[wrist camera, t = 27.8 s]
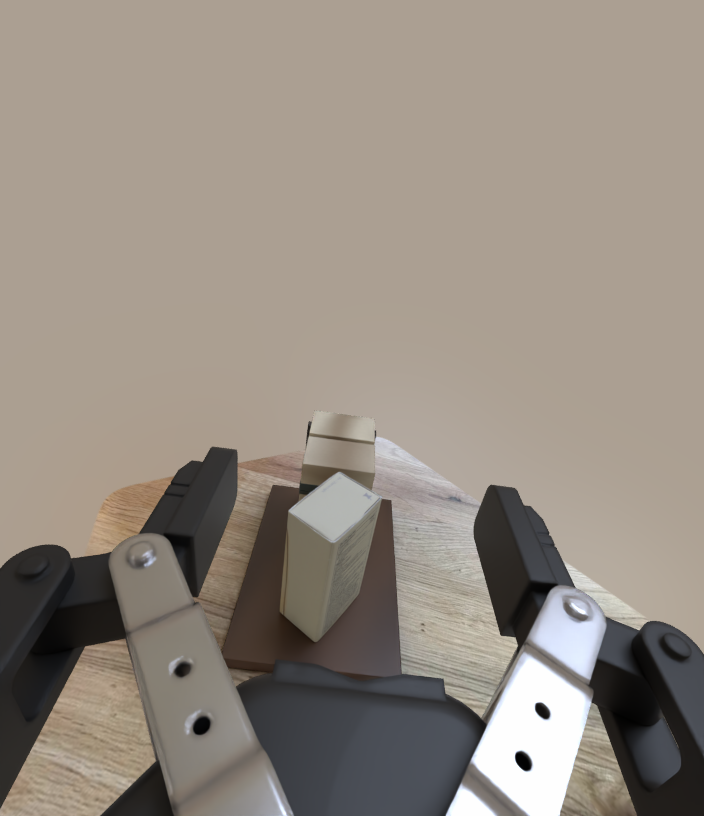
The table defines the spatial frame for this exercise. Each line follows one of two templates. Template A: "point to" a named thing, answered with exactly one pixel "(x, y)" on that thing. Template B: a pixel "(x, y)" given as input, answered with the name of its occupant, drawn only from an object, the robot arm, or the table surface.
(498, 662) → the table surface
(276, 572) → the rack
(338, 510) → the cosmetic box
